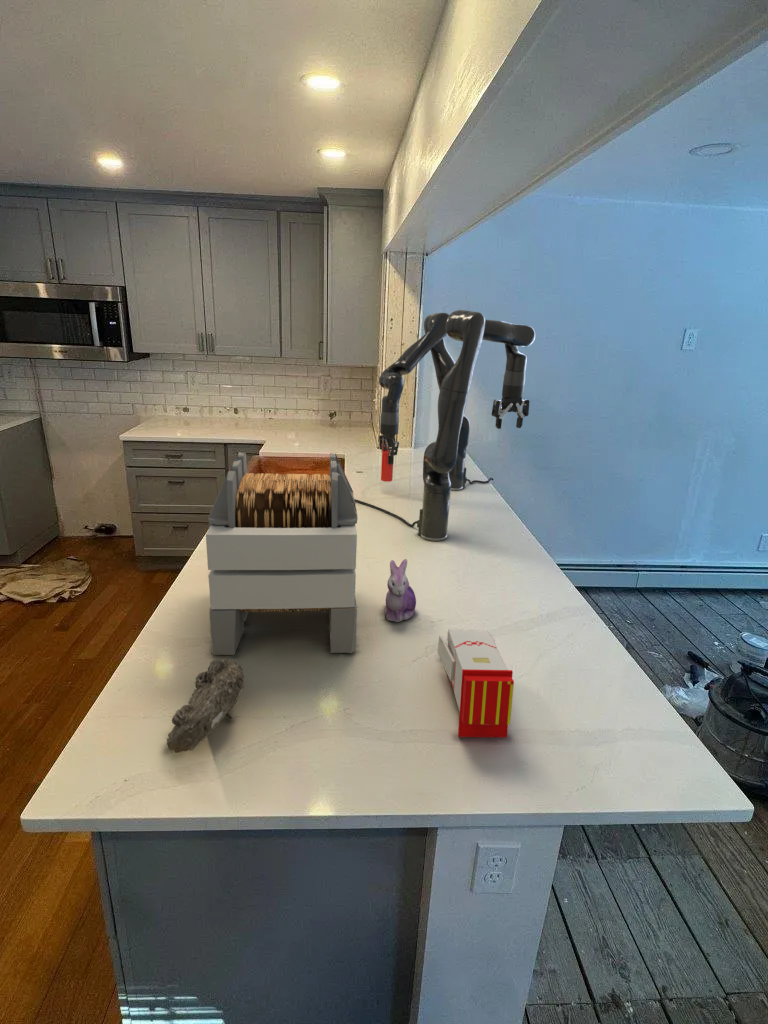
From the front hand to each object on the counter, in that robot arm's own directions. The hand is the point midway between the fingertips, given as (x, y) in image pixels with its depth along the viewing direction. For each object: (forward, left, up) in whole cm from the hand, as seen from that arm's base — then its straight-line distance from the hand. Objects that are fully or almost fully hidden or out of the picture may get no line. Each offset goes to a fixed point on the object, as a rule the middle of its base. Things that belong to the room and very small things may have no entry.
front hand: (508, 428), depth 209 cm
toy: (+41, -104, -35) cm, 117 cm away
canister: (-48, -8, -28) cm, 56 cm away
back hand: (-48, -8, -21) cm, 53 cm away
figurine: (+12, -87, -35) cm, 94 cm away
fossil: (+6, -142, -35) cm, 146 cm away
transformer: (-9, -106, -35) cm, 112 cm away
